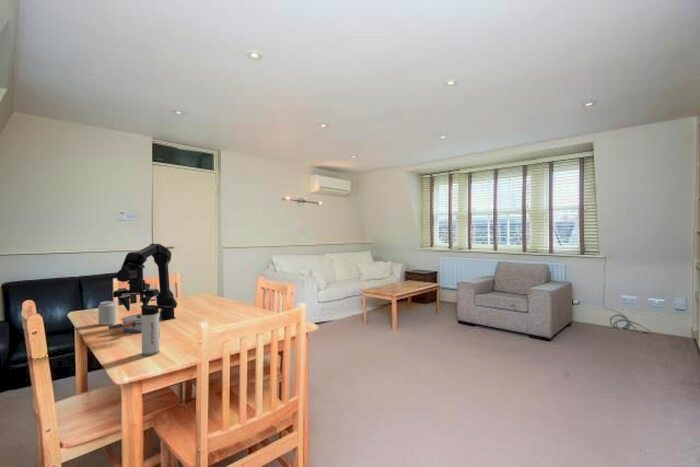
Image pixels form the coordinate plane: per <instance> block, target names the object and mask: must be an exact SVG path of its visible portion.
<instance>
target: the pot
mask: <svg viewBox="0 0 700 467" xmlns="http://www.w3.org/2000/svg"><path fill="white" fill-rule="evenodd" d="M159 321H163V320H162V317H160V316H159ZM123 324H125V323H123V322H122V323H117V324H115V323H114V324H112V325H107V328H108V329H107V330H115V329H120V328H122V332H123V333H124V334H128V335H129V334H131V335H134V334H142V322H141V323H135V324H133V325H131V326H130V327H123Z"/></svg>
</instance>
